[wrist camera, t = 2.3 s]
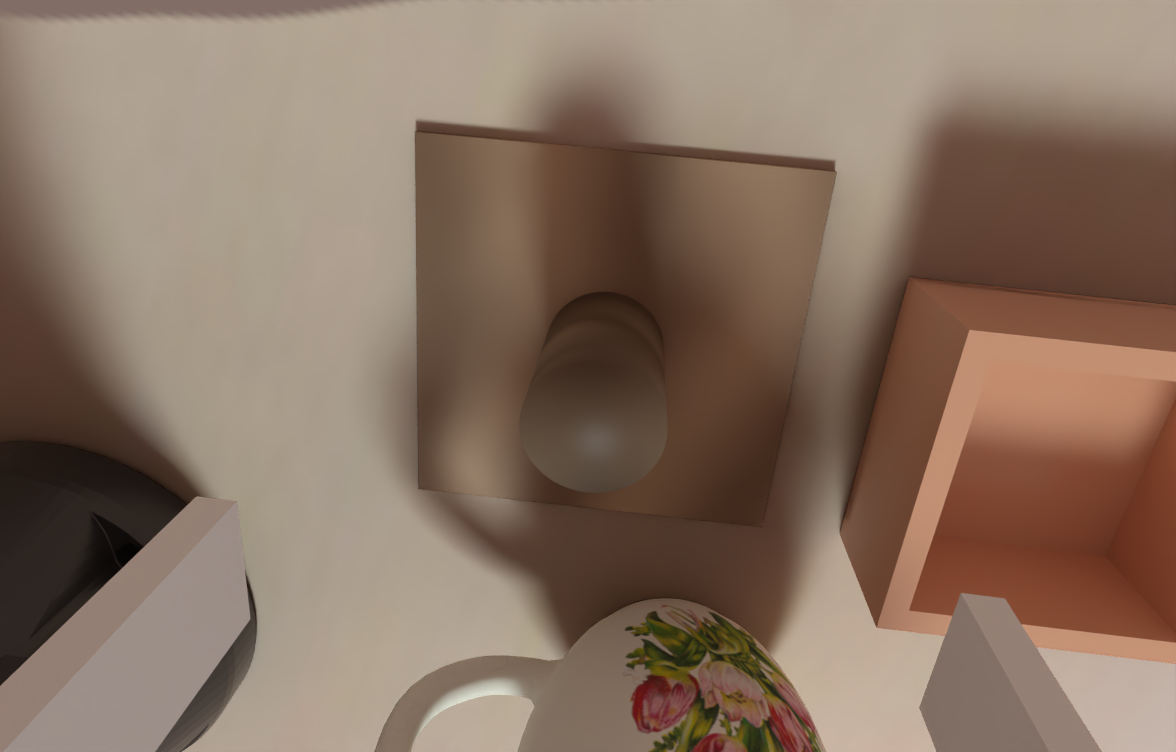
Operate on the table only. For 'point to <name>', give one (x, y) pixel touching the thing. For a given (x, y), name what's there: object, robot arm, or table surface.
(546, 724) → the pitcher
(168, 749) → the robot arm
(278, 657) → the table surface
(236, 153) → the table surface
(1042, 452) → the terracotta dish
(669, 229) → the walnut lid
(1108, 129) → the table surface
